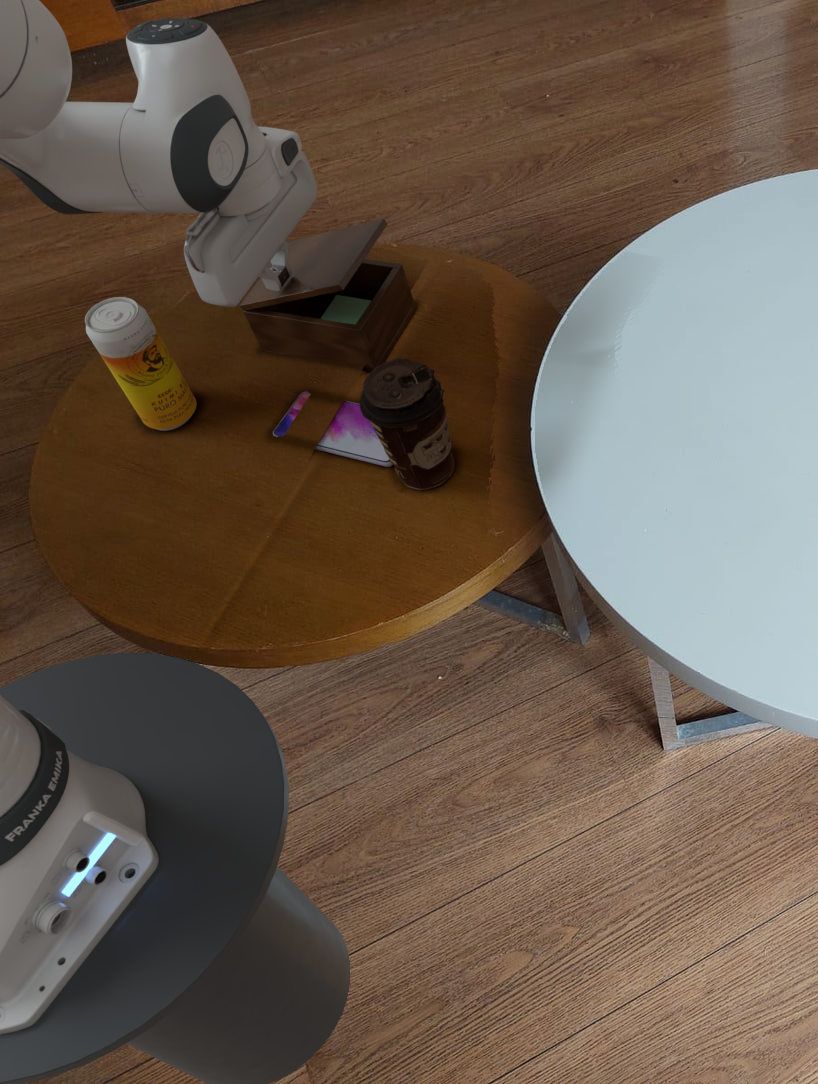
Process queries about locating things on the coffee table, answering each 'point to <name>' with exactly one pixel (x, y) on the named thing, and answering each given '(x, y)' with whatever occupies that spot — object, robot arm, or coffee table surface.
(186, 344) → the coffee table surface
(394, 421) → the coffee cup
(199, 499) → the coffee table surface
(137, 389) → the beer can
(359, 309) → the block
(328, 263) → the lid
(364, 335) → the chest
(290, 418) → the purple white flat pieces
